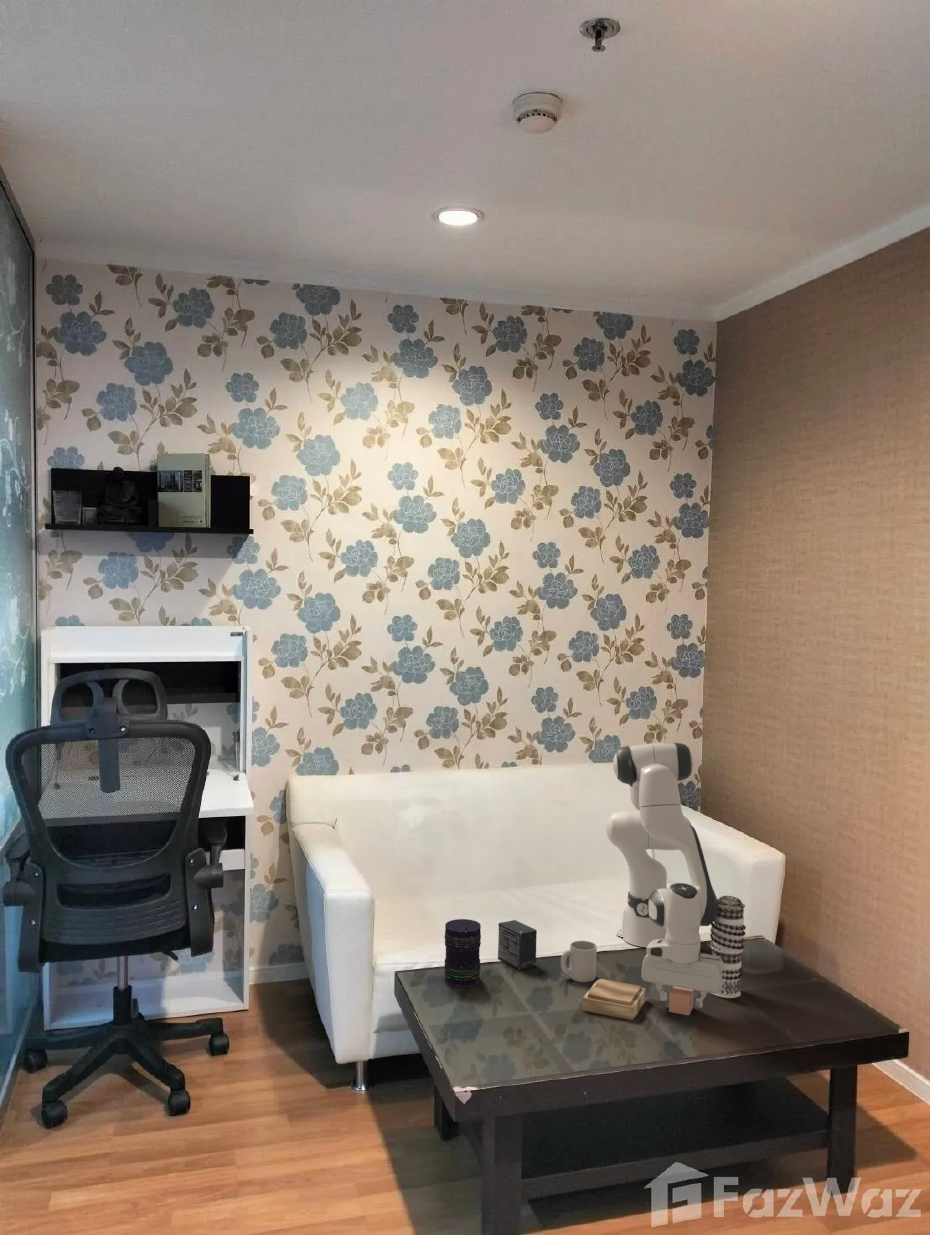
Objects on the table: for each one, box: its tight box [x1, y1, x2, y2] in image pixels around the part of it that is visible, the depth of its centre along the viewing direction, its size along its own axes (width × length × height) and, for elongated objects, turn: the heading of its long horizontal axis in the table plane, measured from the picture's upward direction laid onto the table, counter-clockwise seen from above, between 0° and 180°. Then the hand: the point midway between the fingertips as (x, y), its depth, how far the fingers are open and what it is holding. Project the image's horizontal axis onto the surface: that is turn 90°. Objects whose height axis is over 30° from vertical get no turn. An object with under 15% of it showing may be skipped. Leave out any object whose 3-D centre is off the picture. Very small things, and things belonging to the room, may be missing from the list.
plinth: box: [582, 978, 647, 1021], centre depth 258 cm, size 13×13×4 cm
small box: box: [497, 919, 538, 971], centre depth 286 cm, size 11×6×10 cm, turn 34°
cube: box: [668, 986, 694, 1016], centre depth 256 cm, size 5×5×5 cm
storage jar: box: [443, 918, 482, 988], centre depth 273 cm, size 10×10×15 cm
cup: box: [560, 940, 598, 983], centre depth 275 cm, size 7×10×9 cm
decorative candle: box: [709, 895, 747, 999], centre depth 267 cm, size 9×9×25 cm
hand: (681, 1003), depth 256 cm, fingers open, 8 cm apart
